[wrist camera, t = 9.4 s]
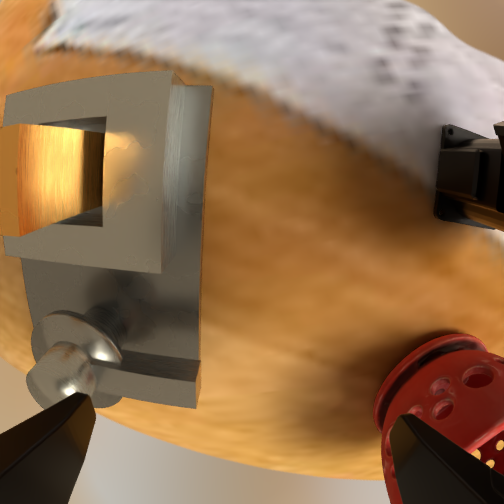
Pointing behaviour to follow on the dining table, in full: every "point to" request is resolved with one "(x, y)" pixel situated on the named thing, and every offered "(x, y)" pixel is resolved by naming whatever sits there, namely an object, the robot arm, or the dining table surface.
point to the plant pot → (446, 399)
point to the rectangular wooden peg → (47, 175)
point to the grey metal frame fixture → (121, 244)
